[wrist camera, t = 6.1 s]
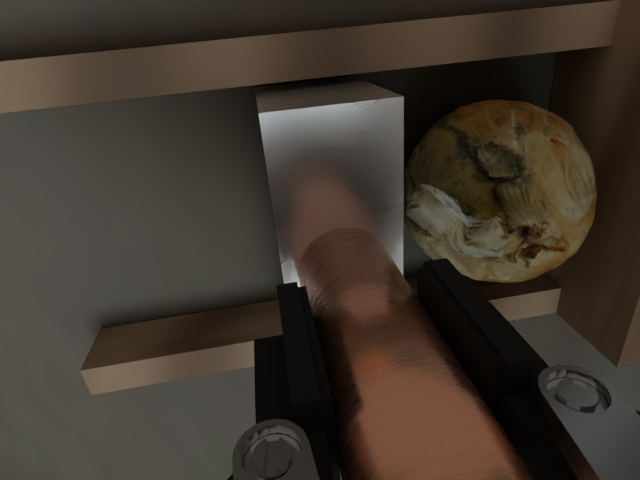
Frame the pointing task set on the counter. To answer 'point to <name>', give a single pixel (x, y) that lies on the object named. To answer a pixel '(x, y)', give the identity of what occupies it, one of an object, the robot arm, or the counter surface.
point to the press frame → (371, 56)
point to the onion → (500, 191)
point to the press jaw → (370, 289)
